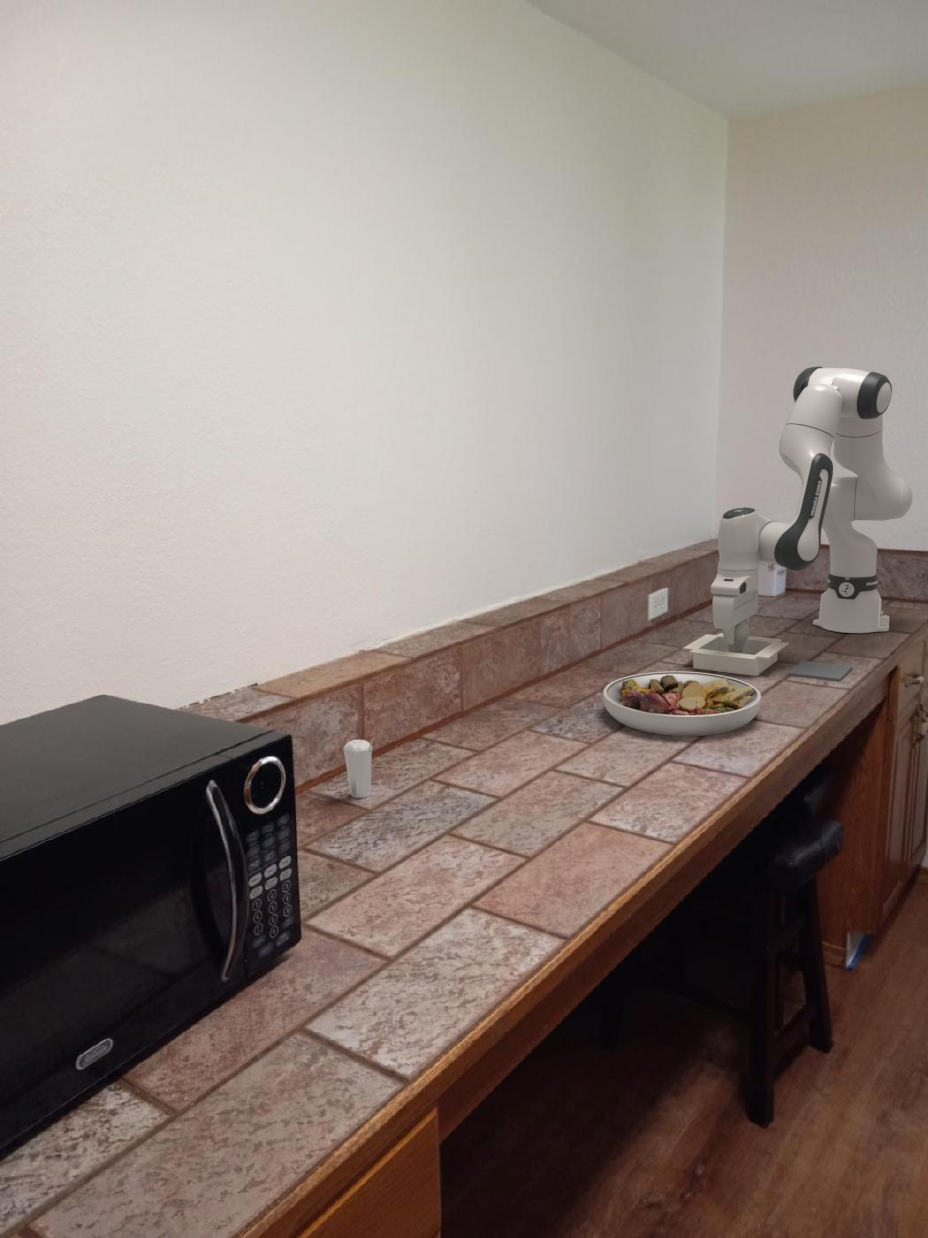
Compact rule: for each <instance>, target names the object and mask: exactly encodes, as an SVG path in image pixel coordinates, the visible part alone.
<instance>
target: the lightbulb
mask: <svg viewBox="0 0 928 1238" xmlns="http://www.w3.org/2000/svg"><path fill="white" fill-rule="evenodd" d="M721 630H722V632H721V633H723V636H724V638H725V640H726V635H725V632H724V629H721ZM734 634H735V636H736V642H735V643H734V644H732V645H731V644H728V648H729V652H732V653H741V654H742V653H743V648H744V644H745V642H746V641H747V639H748V637H749V636H751V635H750V634H751V628H750V624H749V622H748V623H747V622H746V621H745V620H744V621H742V622H740V623H739V624H737V625H735V630H734Z"/></svg>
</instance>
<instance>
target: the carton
mask: <svg viewBox="0 0 928 1238" xmlns="http://www.w3.org/2000/svg"><path fill="white" fill-rule="evenodd" d="M789 644H790V643H789V642H786V641H785V642H783V641H782V639H780V638H771V637H761V636H751V635H749V637H748V639H747V641H746V642H745V644H744V648H743V653H742V654H741V653H732V652H729V648H728V644H727V643H726V640H725V638H724V636H723V632H720V633H718V634H708V633H706V634H704V635H702V636H701V637H699V638H697V639H696V640H694V641H692V642H690V643H689V644H687V645H686V646H684V647H683V648H682V649H683V650H688V651H689V650H690V651H689V654H693V655H692V656H693V658H692V659H693V663H692V666H693V669H699V670H705V671H713V672H719V673H720V672H722V673H729V674H735V675H736V674H737V675H743V676H744V675H745V676H752V677H758V676H759V675H760V674H761V673H763V672H764V671H765V670H767V669H768V668H769V667H771V666H772V665H773V664H775V663H776V662H777V661H778V653H779V652H780V651H782V650H783V649H784V648H786V647H787V646H788V645H789Z"/></svg>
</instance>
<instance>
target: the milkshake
mask: <svg viewBox="0 0 928 1238" xmlns="http://www.w3.org/2000/svg"><path fill="white" fill-rule="evenodd" d="M373 741H374V738H371V740H370V742H369V741H368V740H365V739H351V740H350V741H348V742H346V744H345V745H344V746H343V755H344V760H345V765H346V766H345V767H346V773H347V779H348V781H347V782H348V787H349V794H350V796H351V797H352V798H353V799H354V798H355V799H364V798H368V797H369V796H370V795H371V793H372V757H373V756H372V754H373V752H372V751H373V745H372V744H373Z"/></svg>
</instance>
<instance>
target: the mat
mask: <svg viewBox="0 0 928 1238" xmlns="http://www.w3.org/2000/svg"><path fill="white" fill-rule="evenodd" d="M853 669H854V667H853V666H851V665H845V664H836V663H835V664H834V663H825V662H818V661H817V662H816V661H810V660H809V661H808V660H807V661H806V660H802V661H800V662H799V663H798V664H796V666H794V667H793V668H791V669H790V670H789V671H788V672H787V675H788V676H793V677H801V678H808V679H816V680H817V679H818V680H826V681H834V682H842V680H843V679H844V678H845V677H846V676H847V675H848V674H849V673H850V672H851V671H853Z"/></svg>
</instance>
